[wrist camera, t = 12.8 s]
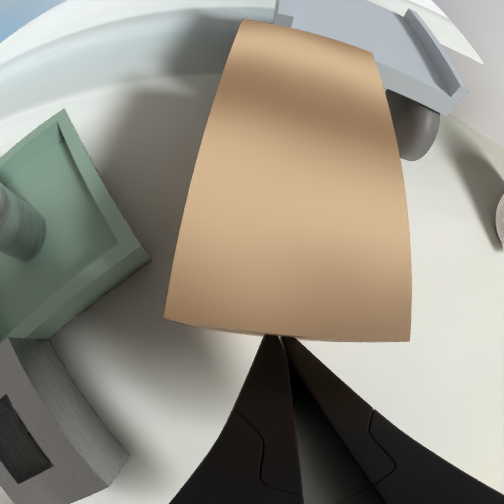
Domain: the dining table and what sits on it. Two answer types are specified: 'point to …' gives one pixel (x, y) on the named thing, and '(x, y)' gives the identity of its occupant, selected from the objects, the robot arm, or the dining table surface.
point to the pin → (19, 227)
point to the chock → (296, 198)
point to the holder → (49, 430)
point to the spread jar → (500, 219)
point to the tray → (62, 234)
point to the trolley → (389, 61)
